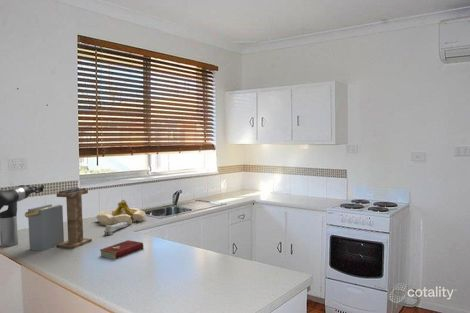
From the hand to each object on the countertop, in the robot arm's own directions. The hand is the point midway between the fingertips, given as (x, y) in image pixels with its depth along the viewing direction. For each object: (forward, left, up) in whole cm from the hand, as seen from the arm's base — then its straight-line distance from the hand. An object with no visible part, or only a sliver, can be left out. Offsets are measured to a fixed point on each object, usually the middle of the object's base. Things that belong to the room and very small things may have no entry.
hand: (35, 186), depth 218 cm
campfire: (+60, +49, -37) cm, 86 cm away
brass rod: (+3, +5, -16) cm, 17 cm away
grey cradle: (+5, +6, -37) cm, 38 cm away
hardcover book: (+39, -31, -38) cm, 62 cm away
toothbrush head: (+49, +20, -37) cm, 65 cm away
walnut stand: (+19, +2, -37) cm, 42 cm away
